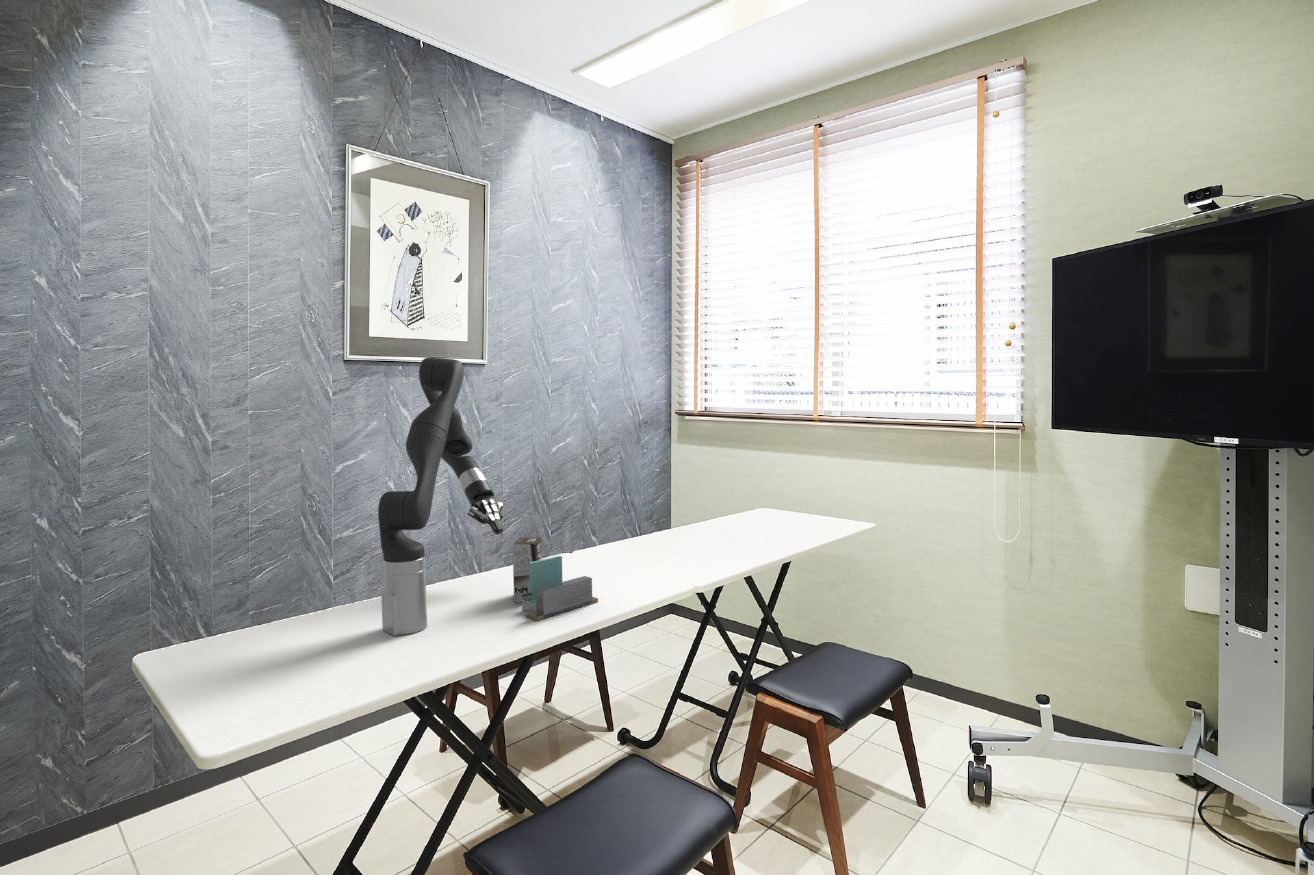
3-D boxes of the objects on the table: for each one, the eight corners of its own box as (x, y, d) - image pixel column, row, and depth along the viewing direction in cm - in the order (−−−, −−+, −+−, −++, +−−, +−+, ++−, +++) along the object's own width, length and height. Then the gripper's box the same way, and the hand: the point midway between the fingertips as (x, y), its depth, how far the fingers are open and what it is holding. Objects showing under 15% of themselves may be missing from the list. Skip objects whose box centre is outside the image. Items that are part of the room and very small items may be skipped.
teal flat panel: (524, 603, 168) (523, 565, 167) (521, 602, 169) (520, 564, 168) (562, 592, 177) (561, 556, 177) (559, 591, 178) (559, 555, 177)
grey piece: (537, 621, 160) (536, 593, 160) (514, 612, 167) (514, 586, 167) (598, 602, 175) (597, 576, 175) (575, 594, 181) (574, 570, 181)
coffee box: (537, 602, 175) (535, 543, 174) (513, 602, 175) (511, 543, 174) (543, 592, 184) (542, 536, 183) (521, 592, 184) (519, 536, 183)
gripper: (460, 481, 189) (484, 528, 181) (499, 476, 198) (524, 521, 191) (451, 497, 193) (475, 544, 185) (490, 492, 202) (514, 536, 195)
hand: (500, 532), depth 188 cm, fingers closed
